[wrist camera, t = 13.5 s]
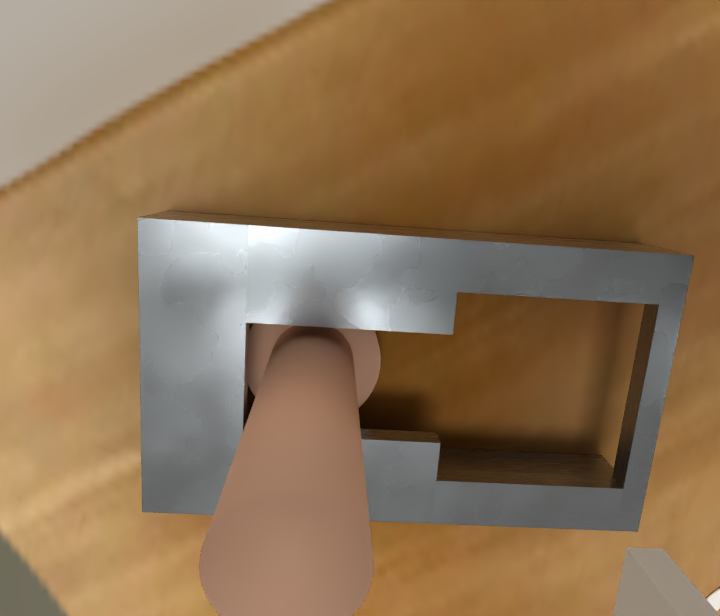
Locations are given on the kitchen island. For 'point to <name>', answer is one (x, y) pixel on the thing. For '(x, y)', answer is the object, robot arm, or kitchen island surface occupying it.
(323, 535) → the terracotta peg
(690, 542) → the kitchen island surface
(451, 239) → the keyhole plate
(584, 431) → the kitchen island surface
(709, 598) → the teacup and saucer
